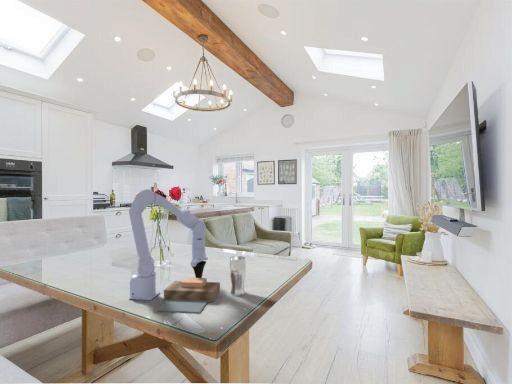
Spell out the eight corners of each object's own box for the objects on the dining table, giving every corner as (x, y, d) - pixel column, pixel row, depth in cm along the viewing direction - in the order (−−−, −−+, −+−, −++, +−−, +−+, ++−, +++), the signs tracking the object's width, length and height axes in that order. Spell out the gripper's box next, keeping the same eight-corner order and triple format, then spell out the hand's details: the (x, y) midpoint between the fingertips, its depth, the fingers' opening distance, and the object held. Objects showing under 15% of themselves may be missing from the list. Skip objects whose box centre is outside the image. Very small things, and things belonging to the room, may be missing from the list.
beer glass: (246, 290, 120) (245, 255, 120) (246, 296, 113) (245, 259, 113) (230, 290, 120) (229, 256, 120) (229, 296, 113) (228, 260, 113)
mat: (156, 311, 100) (156, 309, 100) (168, 300, 110) (168, 299, 110) (199, 313, 98) (199, 311, 98) (207, 301, 108) (207, 300, 108)
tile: (181, 287, 113) (181, 282, 113) (186, 282, 119) (186, 277, 119) (202, 287, 112) (202, 282, 112) (206, 282, 118) (206, 278, 118)
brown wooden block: (163, 300, 110) (163, 290, 110) (175, 290, 121) (175, 280, 121) (212, 302, 108) (212, 291, 108) (219, 291, 119) (219, 282, 119)
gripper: (202, 251, 114) (202, 284, 114) (212, 244, 129) (212, 273, 129) (185, 251, 115) (186, 283, 115) (197, 244, 129) (197, 273, 130)
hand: (198, 278), depth 122 cm, fingers closed
